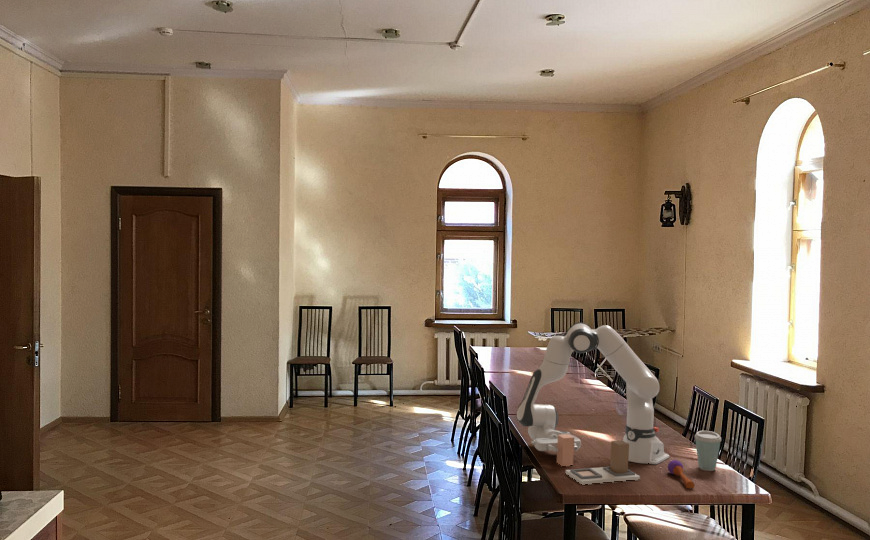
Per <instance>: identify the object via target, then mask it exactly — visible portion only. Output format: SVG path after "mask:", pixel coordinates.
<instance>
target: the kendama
mask: <svg viewBox="0 0 870 540" xmlns="http://www.w3.org/2000/svg"><path fill="white" fill-rule="evenodd" d="M667 469H668V472H669V473H670V474H671V475H673V474H674V476H676V477H679V476H680V479H681V480H682V482H683V483H684V485H685V488H686V489H687V488H693V489H694V488H695V485H696V484H695V482H693V481H692V480H691V479H690V478H688V477H687V476H686V475H685V474H684V465H683V463H682V462H681V461H679V460H678V459H677V460H675V459H672V460H670V461H669V463H668V465H667Z"/></svg>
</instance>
